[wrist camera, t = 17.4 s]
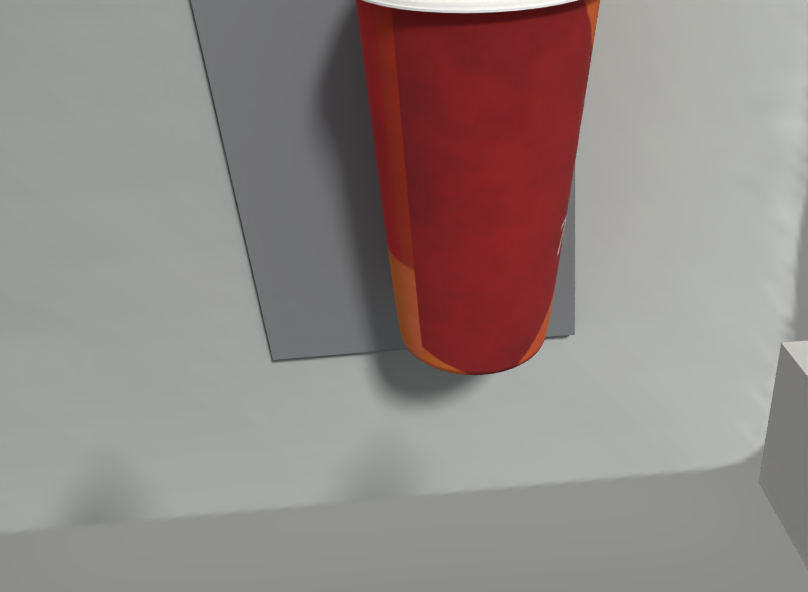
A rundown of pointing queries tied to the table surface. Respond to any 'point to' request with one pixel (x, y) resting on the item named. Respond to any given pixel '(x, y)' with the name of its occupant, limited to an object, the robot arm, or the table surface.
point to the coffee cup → (475, 166)
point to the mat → (315, 175)
